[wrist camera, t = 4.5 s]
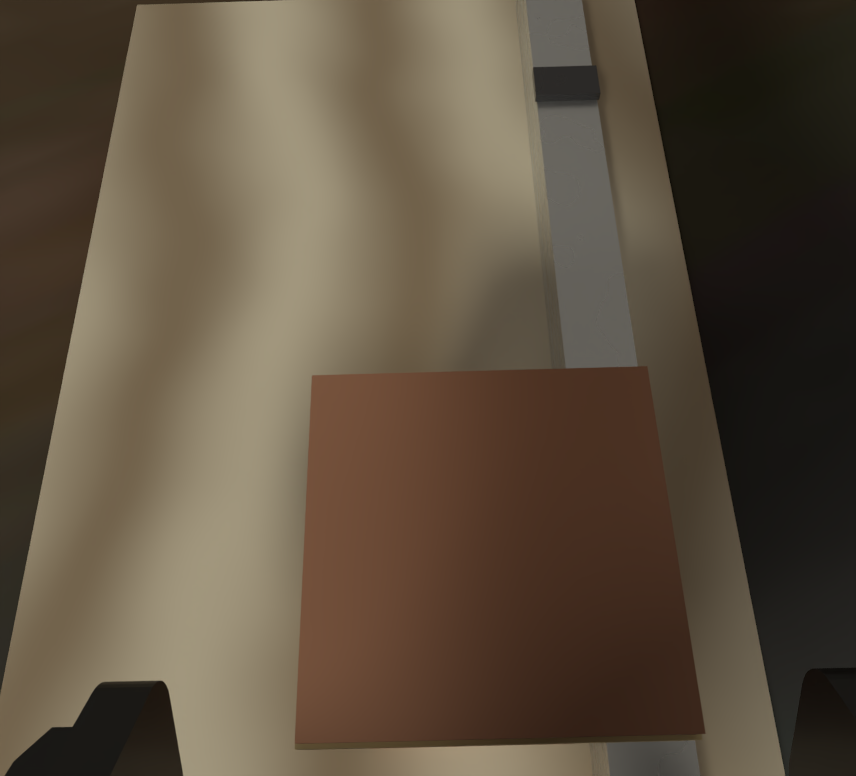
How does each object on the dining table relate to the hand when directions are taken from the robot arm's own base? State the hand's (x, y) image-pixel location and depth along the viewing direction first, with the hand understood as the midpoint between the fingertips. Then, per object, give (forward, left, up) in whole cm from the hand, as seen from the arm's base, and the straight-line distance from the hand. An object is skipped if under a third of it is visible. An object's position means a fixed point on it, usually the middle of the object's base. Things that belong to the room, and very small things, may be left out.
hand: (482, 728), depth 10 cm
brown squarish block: (0, +2, -7) cm, 7 cm away
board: (-2, +9, -8) cm, 12 cm away
